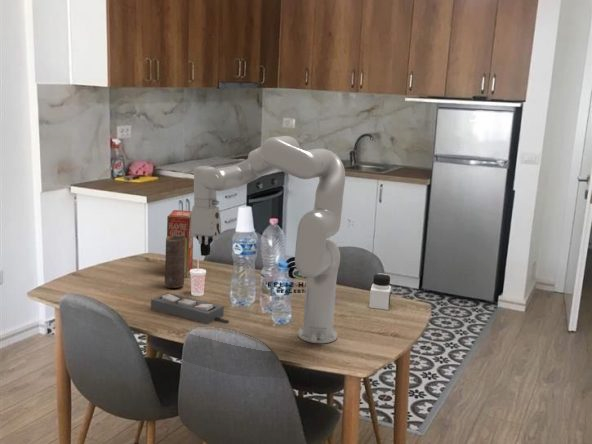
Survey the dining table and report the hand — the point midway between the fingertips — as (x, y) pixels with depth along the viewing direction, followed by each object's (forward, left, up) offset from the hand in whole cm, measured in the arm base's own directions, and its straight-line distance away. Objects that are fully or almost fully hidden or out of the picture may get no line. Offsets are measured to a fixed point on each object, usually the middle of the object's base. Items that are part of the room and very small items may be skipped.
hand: (205, 254), depth 223 cm
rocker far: (-3, +11, -16) cm, 20 cm away
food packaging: (+39, +17, -20) cm, 47 cm away
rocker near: (-9, -1, -16) cm, 18 cm away
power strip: (-7, +3, -19) cm, 21 cm away
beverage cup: (+14, +5, -20) cm, 25 cm away
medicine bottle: (+13, -63, -20) cm, 67 cm away
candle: (+20, +15, -20) cm, 32 cm away
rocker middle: (-6, +5, -16) cm, 18 cm away
